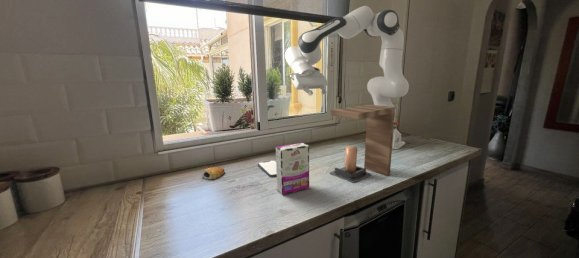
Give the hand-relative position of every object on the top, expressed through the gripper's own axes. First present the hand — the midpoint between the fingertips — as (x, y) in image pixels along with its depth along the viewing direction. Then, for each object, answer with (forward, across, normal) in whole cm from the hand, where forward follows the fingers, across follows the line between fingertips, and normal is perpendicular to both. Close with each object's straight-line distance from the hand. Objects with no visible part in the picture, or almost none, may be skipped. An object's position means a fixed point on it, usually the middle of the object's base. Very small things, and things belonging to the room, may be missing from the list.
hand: (318, 94), depth 123 cm
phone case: (+22, -28, +23) cm, 42 cm away
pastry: (+15, -50, +30) cm, 61 cm away
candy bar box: (+37, -34, +8) cm, 51 cm away
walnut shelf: (+44, -7, +1) cm, 44 cm away
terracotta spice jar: (+40, -7, +4) cm, 40 cm away
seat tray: (+40, -7, +4) cm, 41 cm away
